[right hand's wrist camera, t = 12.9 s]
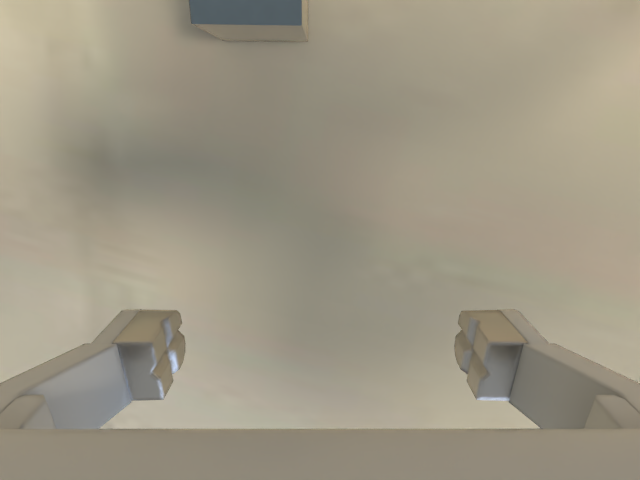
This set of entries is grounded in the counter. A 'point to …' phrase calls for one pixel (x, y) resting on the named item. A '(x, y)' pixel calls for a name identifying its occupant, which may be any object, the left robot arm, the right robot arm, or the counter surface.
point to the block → (252, 19)
